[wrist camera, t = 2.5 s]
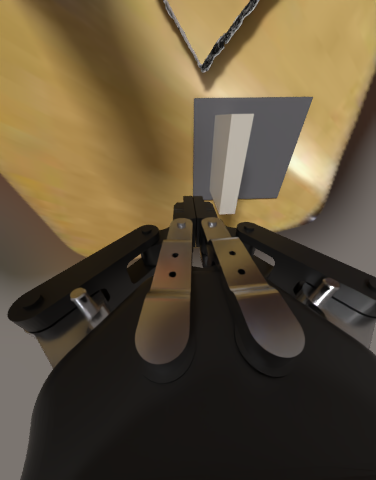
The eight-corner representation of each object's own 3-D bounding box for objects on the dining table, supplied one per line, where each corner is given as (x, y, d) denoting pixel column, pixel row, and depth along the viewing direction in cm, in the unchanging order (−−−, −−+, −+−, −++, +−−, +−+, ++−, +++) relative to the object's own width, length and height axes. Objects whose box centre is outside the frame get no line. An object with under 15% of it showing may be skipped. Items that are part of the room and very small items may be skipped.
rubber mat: (193, 199, 33) (193, 200, 33) (194, 98, 23) (194, 98, 23) (276, 197, 34) (276, 197, 33) (311, 97, 24) (313, 96, 24)
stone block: (209, 190, 32) (219, 214, 24) (215, 115, 24) (231, 113, 17) (221, 190, 32) (235, 213, 24) (231, 115, 24) (255, 113, 17)
